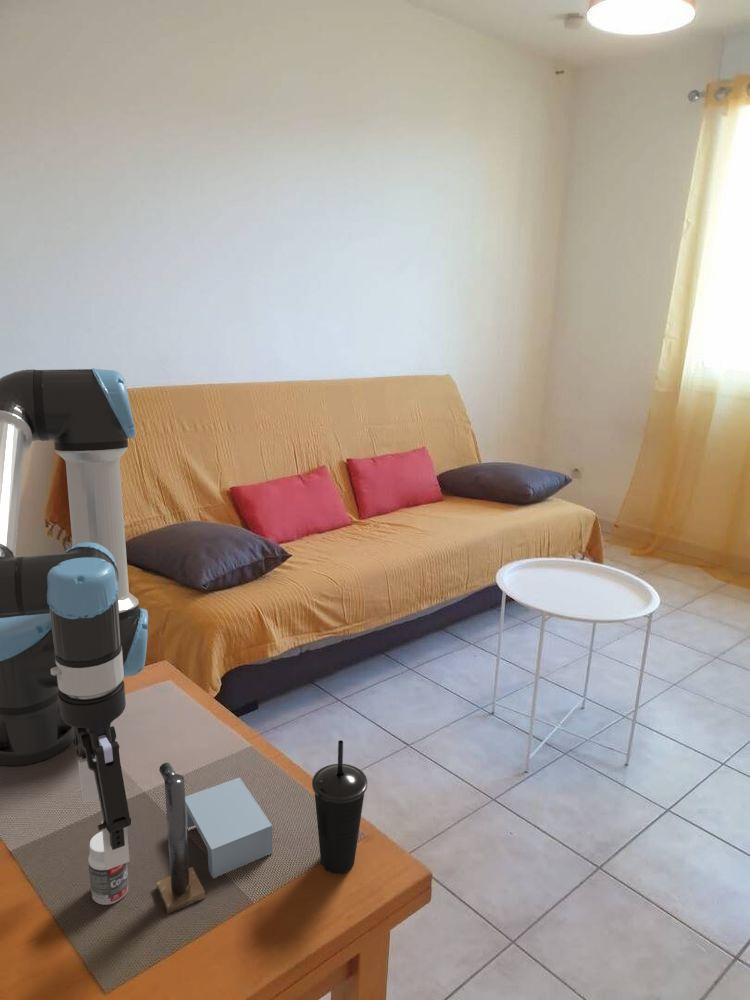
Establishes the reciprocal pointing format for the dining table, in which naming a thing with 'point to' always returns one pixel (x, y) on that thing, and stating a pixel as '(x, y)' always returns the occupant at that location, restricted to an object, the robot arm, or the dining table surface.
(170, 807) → the hook post
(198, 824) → the light blue boxy piece
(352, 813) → the drinking cup
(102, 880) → the pill bottle
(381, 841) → the dining table surface
